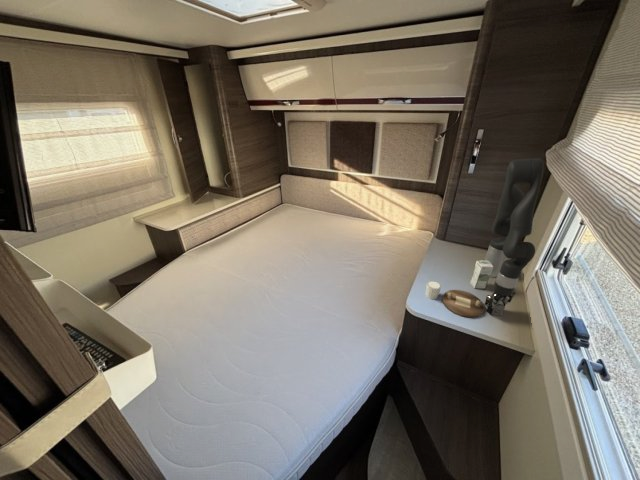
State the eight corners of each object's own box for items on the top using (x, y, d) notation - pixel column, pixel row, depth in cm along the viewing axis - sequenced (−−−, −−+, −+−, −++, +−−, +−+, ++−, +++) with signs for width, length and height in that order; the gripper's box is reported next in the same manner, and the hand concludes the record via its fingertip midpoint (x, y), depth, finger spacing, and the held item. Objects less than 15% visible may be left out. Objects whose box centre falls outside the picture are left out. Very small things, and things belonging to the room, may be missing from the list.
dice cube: (489, 313, 122) (492, 305, 120) (486, 306, 126) (489, 298, 124) (501, 316, 121) (504, 307, 118) (498, 308, 125) (502, 300, 123)
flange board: (444, 288, 139) (445, 282, 137) (483, 298, 131) (485, 292, 129) (440, 310, 125) (441, 303, 123) (483, 322, 117) (485, 316, 116)
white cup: (437, 301, 130) (440, 290, 127) (422, 297, 133) (425, 286, 130) (439, 294, 135) (442, 283, 132) (426, 289, 138) (428, 278, 135)
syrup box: (480, 282, 143) (487, 259, 136) (485, 289, 137) (493, 266, 130) (469, 282, 143) (476, 259, 136) (474, 289, 138) (481, 266, 131)
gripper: (511, 274, 120) (499, 302, 128) (485, 280, 116) (475, 308, 124) (526, 284, 113) (513, 312, 121) (500, 291, 110) (488, 320, 118)
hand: (494, 310), depth 123 cm, fingers closed on dice cube, 6 cm apart
